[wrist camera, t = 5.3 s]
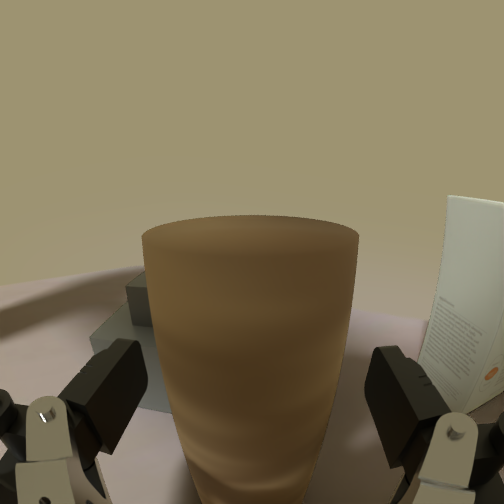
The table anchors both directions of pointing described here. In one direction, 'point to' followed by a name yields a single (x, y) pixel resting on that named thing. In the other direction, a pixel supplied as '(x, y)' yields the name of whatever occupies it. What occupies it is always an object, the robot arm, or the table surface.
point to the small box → (468, 307)
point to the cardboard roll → (250, 345)
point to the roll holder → (141, 329)
